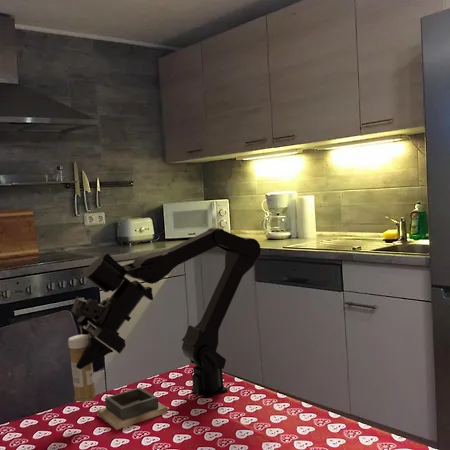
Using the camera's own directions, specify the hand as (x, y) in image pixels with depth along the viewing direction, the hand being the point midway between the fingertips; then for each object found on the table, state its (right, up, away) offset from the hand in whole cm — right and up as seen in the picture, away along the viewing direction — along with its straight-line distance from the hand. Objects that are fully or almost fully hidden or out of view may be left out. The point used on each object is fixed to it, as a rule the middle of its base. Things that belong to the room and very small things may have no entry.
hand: (75, 365), depth 116 cm
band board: (+11, -12, +5) cm, 17 cm away
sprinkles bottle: (+2, -8, +1) cm, 8 cm away
